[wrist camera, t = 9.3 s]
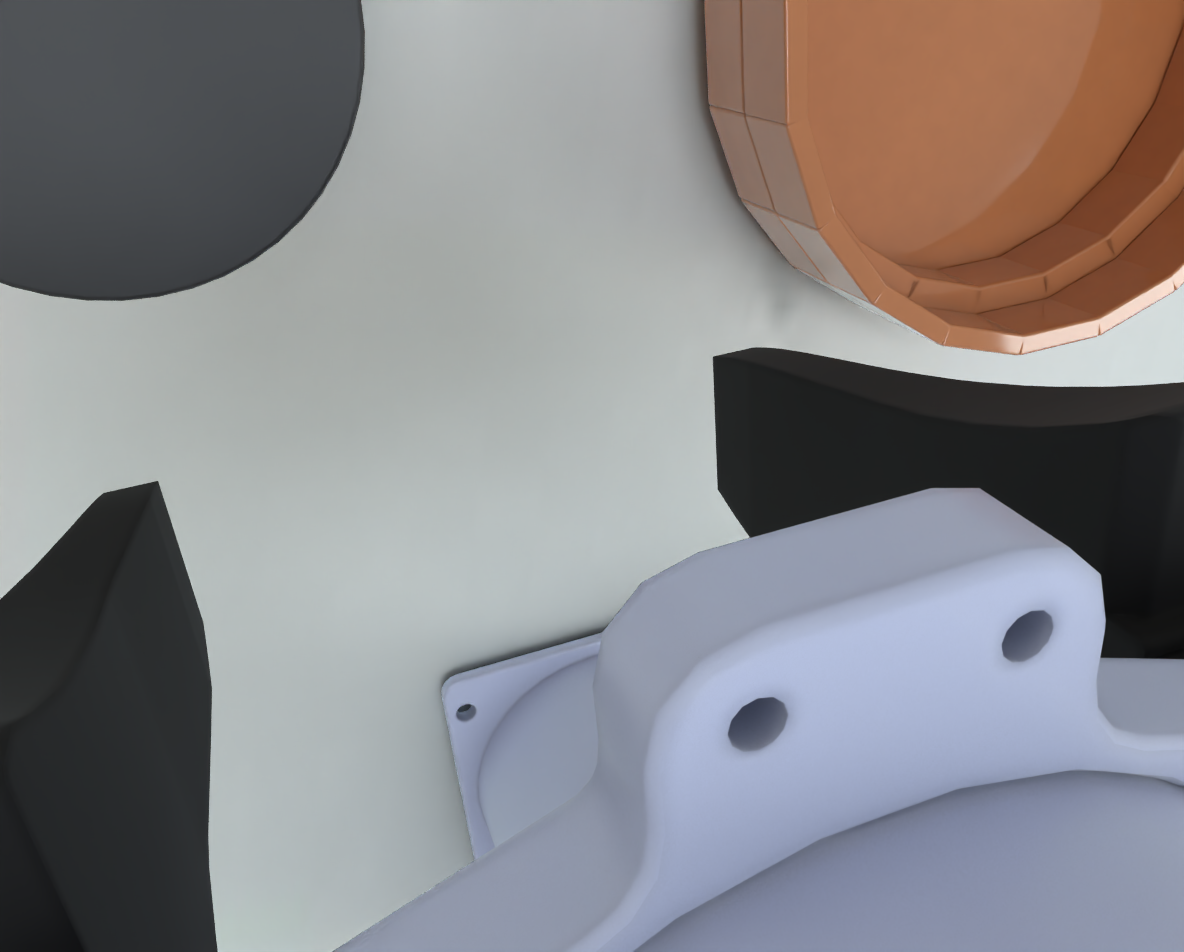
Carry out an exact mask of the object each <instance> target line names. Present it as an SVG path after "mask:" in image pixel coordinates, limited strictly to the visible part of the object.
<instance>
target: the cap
mask: <svg viewBox="0 0 1184 952" xmlns="http://www.w3.org/2000/svg"><path fill="white" fill-rule="evenodd" d="M364 53H365V30H364V22H363V13H362V5H361V0H0V283H3V284H6V285H9V286H11V287H15V288H19V289H23V290H28V291H32V292H36V293H40V294H44V295H49V296H55V297H64V298H72V299H80V300H102V301H125V300H134V299H142V298H151V297H160V296H164V295H168V294H172V293H176V292H180V291H184V290H188V289H192V288H195V287H198V286H200V285H203V284H206V283H208V282H211V281H213V280H216V279H219V278H221V277H224V276H226V275H228V274H229V273H231V272H233V271H235V270H237V269H239V268H240V267H242V266H244V265H246V264H248V263H250V262H251V261H253V260H255V259H256V258H257V257H259V256H260V255H261V254H263V253H264V252H265V251H267V250H268V249H270V248H271V247H272V246H274V245H275V244H276V243H278V242H279V241H280V240H281V239H282V238H283V237H284V236H285V235H286V234H287V233H288V232H289V231H290V230H291V229H293V228H294V227H295V226H296V225H297V224H298V223H299V222H300V221H301V220H302V219H303V217H304V216H305V215H306V214H307V212H308V211H309V210H310V209H311V207H312V206H313V205H314V203H315V202H316V201H317V200H318V198H319V197H320V196H321V194H322V193H323V191H324V190H325V188H326V186H327V184H328V183H329V181H330V179H331V178H332V176H333V174H334V172H335V171H336V169H337V167H338V166H339V163H340V161H341V158H342V156H343V153H344V151H345V149H346V146H347V144H348V141H349V139H350V137H351V134H352V130H353V126H354V122H355V119H356V115H357V111H358V107H359V104H360V97H361V90H362V82H363V75H364Z"/></svg>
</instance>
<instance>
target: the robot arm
mask: <svg viewBox="0 0 1184 952" xmlns="http://www.w3.org/2000/svg"><path fill="white" fill-rule="evenodd" d="M713 372H714V399H715V426H716V453H717V480H718V490H719V492H720V493H721V495H722V497H723V498H724V500H725V501H726V503H727V504H728V506H729V507H730V509H731V511H732V512H733V514H734V515H735V517H736V518H737V520H738V521H739V522H740V524H741V525H742V527H743V528H744V529H745V531H746V532H747V534H748V535H749V537H750V538H748V539H745V540H741V541H737V542H734V543H730V544H727V545H723V546H719V547H716V548H712V549H708V550H705V551H701V552H698V553H696V554H694V555H692V556H690V557H689V558H687V559H685V560H683V561H681V562H679V563H677V564H675V565H673V566H672V567H670V568H668V569H666V570H664V571H662V572H660V573H658V574H656V575H655V576H653V577H651V578H649V579H647V580H645V581H643V582H642V583H641V584H640V585H639V587H638V588H637V589H636V590H635V592H634V593H633V594H632V595H631V597H630V598H629V599H628V600H627V602H626V603H625V604H624V606H623V607H622V608H621V609H620V611H619V612H618V613H617V614H616V616H615V617H614V618H613V620H612V621H611V622H610V623H609V625H608V626H607V627H606V628H605V630H604V631H603V632H602V633H598V634H595V635H591V636H588V637H584V638H581V639H577V640H574V641H570V642H567V643H564V644H560V645H557V646H553V647H550V648H546V649H543V650H539V651H536V652H532V653H529V654H525V655H522V656H518V657H515V658H511V659H508V660H504V661H501V662H497V663H494V664H490V665H487V666H483V667H480V668H476V669H473V670H469V671H466V672H462V673H459V674H456V675H454V676H452V677H450V678H449V679H448V680H447V681H446V682H445V683H444V685H443V687H442V692H441V696H442V701H443V706H444V711H445V716H446V721H447V726H448V731H449V736H450V741H451V746H452V751H453V756H454V761H455V766H456V771H457V776H458V781H459V786H460V791H461V796H462V801H463V806H464V811H465V816H466V821H467V826H468V831H469V836H470V841H471V846H472V851H473V856H474V861H473V862H471V863H470V864H468V865H467V866H465V867H464V868H462V869H460V870H459V871H457V872H456V873H454V874H453V875H451V876H449V877H448V878H446V879H445V880H443V881H442V882H440V883H439V884H437V885H435V886H434V887H432V888H431V889H429V890H428V891H426V892H424V893H423V894H421V895H420V896H418V897H417V898H415V899H414V900H412V901H410V902H409V903H407V904H406V905H404V906H403V907H401V908H399V909H398V910H396V911H395V912H393V913H392V914H390V915H389V916H387V917H385V918H384V919H382V920H381V921H379V922H378V923H376V924H374V925H373V926H371V927H370V928H368V929H367V930H365V931H364V932H362V933H360V934H359V935H357V936H356V937H354V938H353V939H351V940H349V941H348V942H346V943H345V944H343V945H342V946H340V947H339V948H337V949H335V950H334V951H332V952H1184V382H1181V383H1168V384H1155V385H1140V386H1115V387H1045V386H1022V385H1009V384H996V383H983V382H972V381H964V380H955V379H948V378H941V377H935V376H928V375H921V374H915V373H908V372H903V371H897V370H891V369H886V368H881V367H875V366H870V365H865V364H860V363H855V362H850V361H845V360H840V359H835V358H830V357H824V356H819V355H814V354H809V353H803V352H797V351H791V350H784V349H776V348H749V349H745V350H741V351H736V352H732V353H727V354H723V355H718V356H714V357H713ZM465 704H471V705H472V706H471V707H470V709H469V710H467V711H465V712H458V711H457V710H458V709H459V708H460V707H461V706H463V705H465ZM211 709H212V686H211V677H210V669H209V661H208V653H207V646H206V639H205V631H204V624H203V620H202V617H201V614H200V611H199V608H198V605H197V602H196V599H195V595H194V592H193V589H192V586H191V583H190V580H189V577H188V574H187V570H186V567H185V564H184V561H183V558H182V555H181V552H180V548H179V545H178V542H177V539H176V536H175V533H174V530H173V527H172V523H171V520H170V517H169V514H168V511H167V508H166V505H165V502H164V498H163V495H162V492H161V489H160V486H159V483H158V481H156V482H151V483H147V484H142V485H138V486H133V487H129V488H124V489H120V490H115V491H111V492H106V493H103V494H102V495H101V496H100V497H98V498H97V499H96V500H95V501H94V502H93V503H92V504H91V505H90V506H89V508H88V509H87V510H86V511H85V512H84V513H83V514H82V515H81V516H80V517H79V519H78V520H77V521H76V522H75V523H74V524H73V525H72V526H71V528H70V529H69V530H68V531H67V532H66V533H65V534H64V535H63V536H62V538H61V539H60V540H59V541H58V542H57V543H56V544H55V545H54V546H53V547H52V548H51V549H50V551H49V552H48V553H47V554H46V555H45V556H44V557H43V558H42V559H41V560H40V561H39V562H38V564H37V565H36V566H35V567H34V568H33V569H32V570H31V571H30V572H29V573H27V574H26V575H25V576H24V577H23V578H22V579H21V580H20V581H19V582H18V583H17V584H16V585H15V586H14V587H13V588H12V589H11V590H10V591H9V592H8V593H7V594H6V595H5V596H4V597H2V598H1V599H0V952H217V943H216V933H215V923H214V913H213V903H212V893H211V882H210V872H209V846H208V823H209V788H210V752H211Z"/></svg>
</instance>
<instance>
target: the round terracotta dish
mask: <svg viewBox="0 0 1184 952" xmlns="http://www.w3.org/2000/svg"><path fill="white" fill-rule="evenodd" d="M704 8H705V32H706V56H707V80H708V102H709V105H711V106H710V107H709V109H710V112H711V115H712V118H713V121H714V124H715V127H716V130H717V133H718V136H719V139H720V142H721V145H722V148H723V151H724V154H725V157H726V159H727V162H728V165H729V168H730V171H731V174H732V177H733V180H734V183H735V186H736V189H737V192H738V195H739V197H740V198H741V201H742V203H743V204H744V205H745V207H746V208H747V209H748V210H749V212H750V213H751V214H752V216H753V217H754V218H755V220H756V221H757V222H758V223H759V225H760V226H761V227H762V229H763V230H764V231H765V232H766V234H767V235H768V236H769V238H770V239H771V240H772V241H773V243H774V244H775V245H776V247H777V248H778V249H779V250H780V252H781V253H782V254H783V256H784V257H785V258H786V259H787V261H788V262H789V263H790V265H792V266H793V267H794V268H795V269H797V270H799V271H800V272H802V273H804V274H805V275H807V276H809V277H811V278H812V279H814V280H816V281H817V282H819V283H821V284H822V285H824V286H826V287H827V288H829V289H831V290H833V291H834V292H836V293H838V294H839V295H841V296H843V297H844V298H846V299H848V300H850V301H851V302H853V303H855V304H857V305H859V306H861V307H863V308H865V309H867V310H869V311H871V312H873V313H875V314H877V315H879V316H881V317H883V318H885V319H887V320H889V321H891V322H894V323H896V324H898V325H900V326H902V327H904V328H906V329H908V330H910V331H912V332H914V333H916V334H918V335H920V336H922V337H924V338H926V339H928V340H930V341H932V342H934V343H936V344H939V345H942V346H947V347H955V348H963V349H971V350H979V351H986V352H994V353H1002V354H1010V355H1023V354H1027V353H1031V352H1035V351H1039V350H1043V349H1048V348H1052V347H1056V346H1060V345H1064V344H1068V343H1072V342H1077V341H1081V340H1085V339H1089V338H1093V337H1097V336H1098V335H1102V334H1103V333H1105V332H1107V331H1108V330H1110V329H1112V328H1113V327H1115V326H1117V325H1119V324H1120V323H1122V322H1124V321H1125V320H1127V319H1129V318H1130V317H1132V316H1134V315H1136V314H1137V313H1139V312H1141V311H1142V310H1144V309H1146V308H1147V307H1149V306H1151V305H1153V304H1154V303H1156V302H1158V301H1159V300H1161V299H1163V298H1164V297H1166V296H1168V295H1170V294H1171V293H1173V292H1174V291H1175V290H1177V289H1178V288H1179V287H1180V286H1181V285H1182V284H1183V283H1184V0H704Z"/></svg>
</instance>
